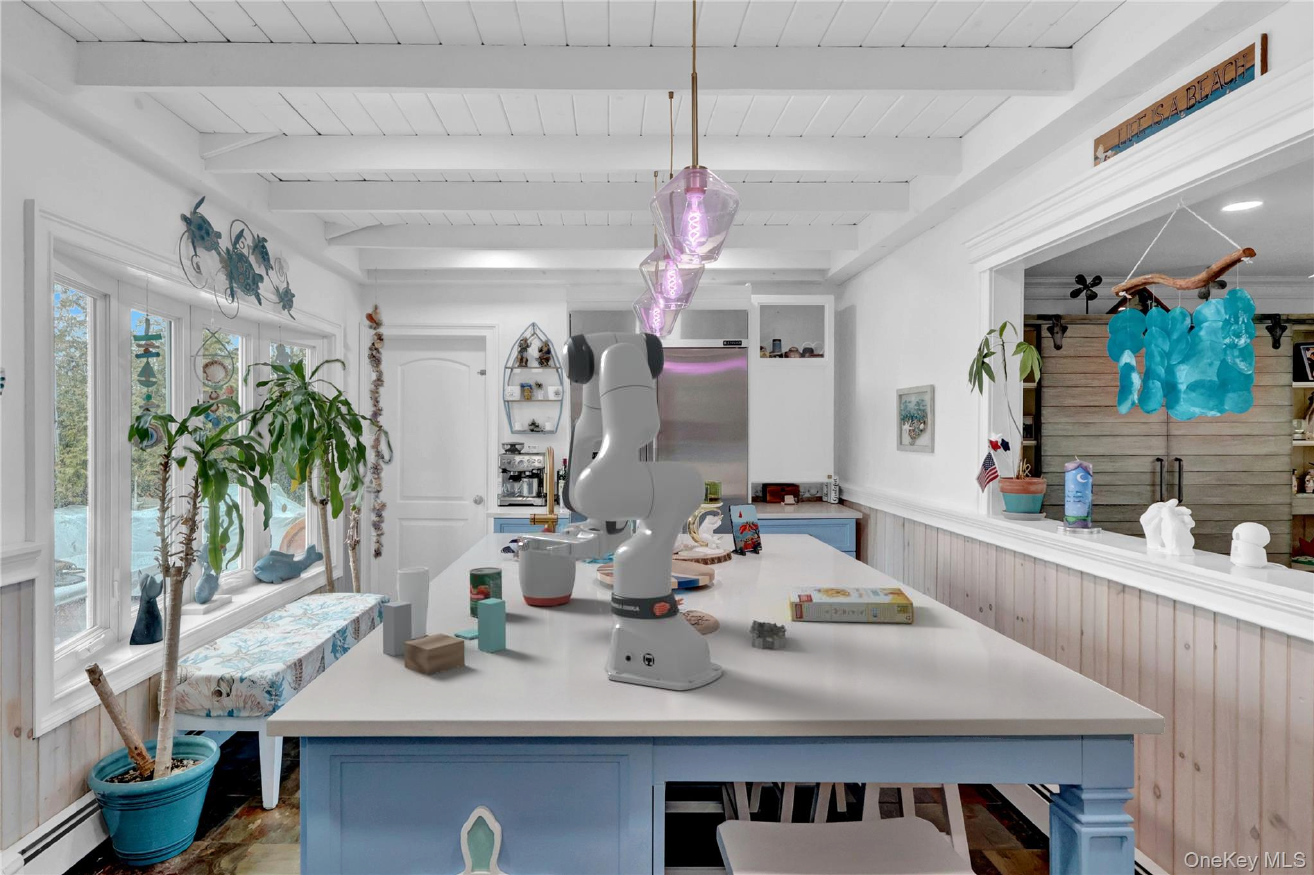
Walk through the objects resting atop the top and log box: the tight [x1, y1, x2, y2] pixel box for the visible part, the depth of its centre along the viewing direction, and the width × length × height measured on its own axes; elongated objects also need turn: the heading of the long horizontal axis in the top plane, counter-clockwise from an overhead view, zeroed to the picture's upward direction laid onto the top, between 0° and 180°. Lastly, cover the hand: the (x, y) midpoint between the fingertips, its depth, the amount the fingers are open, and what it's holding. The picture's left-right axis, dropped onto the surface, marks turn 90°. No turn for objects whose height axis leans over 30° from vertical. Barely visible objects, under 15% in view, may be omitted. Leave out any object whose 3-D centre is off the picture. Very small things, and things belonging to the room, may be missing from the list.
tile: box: [453, 628, 478, 640], centre depth 163 cm, size 5×5×1 cm
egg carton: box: [748, 619, 788, 650], centre depth 156 cm, size 11×8×4 cm
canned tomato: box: [469, 566, 503, 618], centre depth 183 cm, size 8×8×11 cm
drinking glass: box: [396, 566, 430, 640], centre depth 163 cm, size 7×7×15 cm
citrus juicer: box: [512, 527, 577, 607], centre depth 196 cm, size 16×17×20 cm
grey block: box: [382, 600, 413, 657], centre depth 151 cm, size 4×4×10 cm
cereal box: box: [788, 585, 915, 624], centre depth 181 cm, size 20×6×28 cm
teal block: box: [477, 598, 507, 653], centre depth 153 cm, size 4×4×10 cm
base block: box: [404, 633, 466, 676], centre depth 142 cm, size 8×8×5 cm
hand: (534, 549), depth 163 cm, fingers open, 8 cm apart
